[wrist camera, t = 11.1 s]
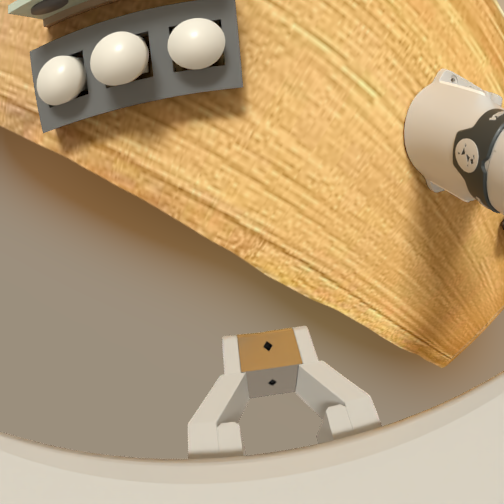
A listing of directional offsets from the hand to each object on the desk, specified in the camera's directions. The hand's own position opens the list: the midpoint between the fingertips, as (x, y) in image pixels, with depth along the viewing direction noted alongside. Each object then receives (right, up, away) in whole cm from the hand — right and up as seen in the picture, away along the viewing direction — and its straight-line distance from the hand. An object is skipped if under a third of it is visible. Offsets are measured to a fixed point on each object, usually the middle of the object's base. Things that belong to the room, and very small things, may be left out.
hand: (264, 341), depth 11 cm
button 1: (-20, +22, +14) cm, 33 cm away
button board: (-13, +23, +14) cm, 30 cm away
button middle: (-13, +22, +13) cm, 29 cm away
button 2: (-6, +24, +15) cm, 29 cm away
